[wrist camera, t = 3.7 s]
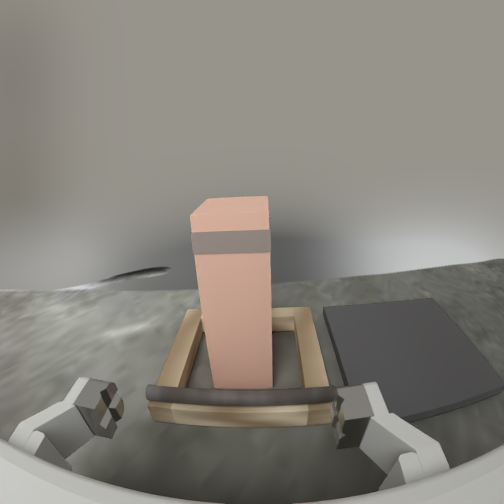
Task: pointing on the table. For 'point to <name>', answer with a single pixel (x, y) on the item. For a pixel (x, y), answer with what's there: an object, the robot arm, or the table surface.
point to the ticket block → (235, 289)
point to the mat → (410, 356)
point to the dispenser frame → (243, 401)
